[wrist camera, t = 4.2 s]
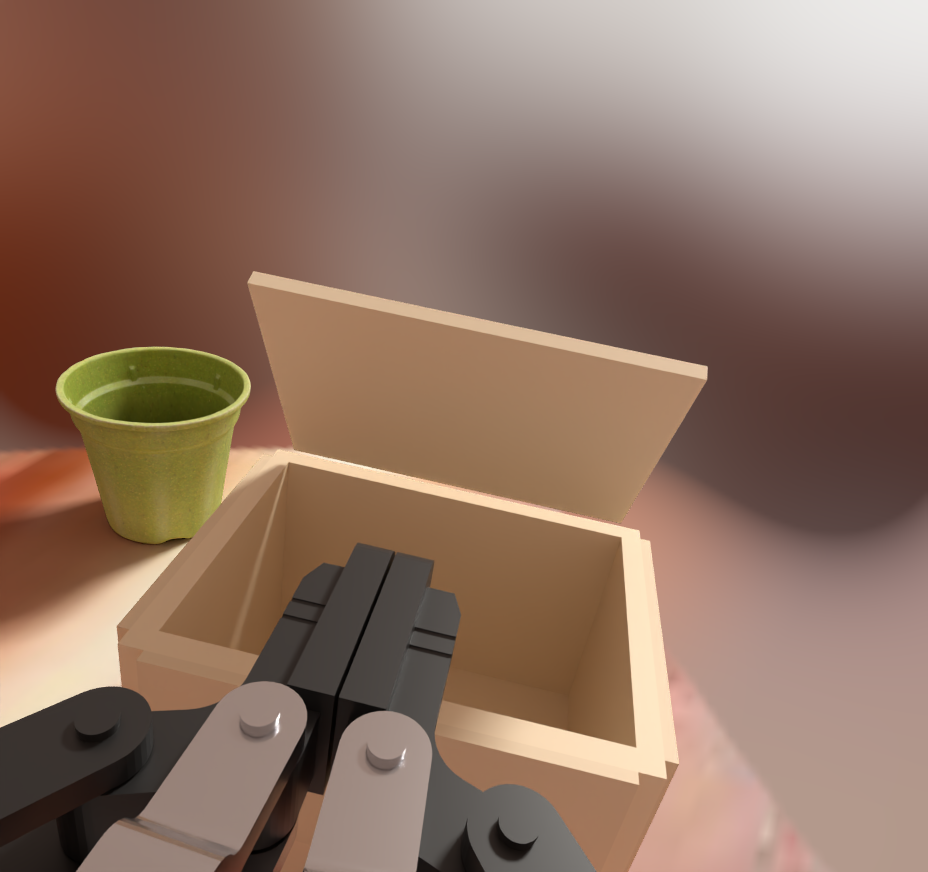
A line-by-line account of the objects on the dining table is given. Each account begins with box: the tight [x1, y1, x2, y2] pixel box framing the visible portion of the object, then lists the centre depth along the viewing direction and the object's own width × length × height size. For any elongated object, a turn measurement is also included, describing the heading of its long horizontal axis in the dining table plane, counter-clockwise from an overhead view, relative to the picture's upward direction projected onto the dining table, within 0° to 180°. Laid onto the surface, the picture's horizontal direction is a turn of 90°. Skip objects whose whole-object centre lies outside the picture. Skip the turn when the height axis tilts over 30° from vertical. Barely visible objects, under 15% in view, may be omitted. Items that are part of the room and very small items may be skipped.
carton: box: [117, 449, 679, 872], centre depth 27 cm, size 17×12×10 cm
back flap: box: [248, 272, 708, 523], centre depth 25 cm, size 14×1×10 cm
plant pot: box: [56, 347, 250, 544], centre depth 39 cm, size 9×9×9 cm
